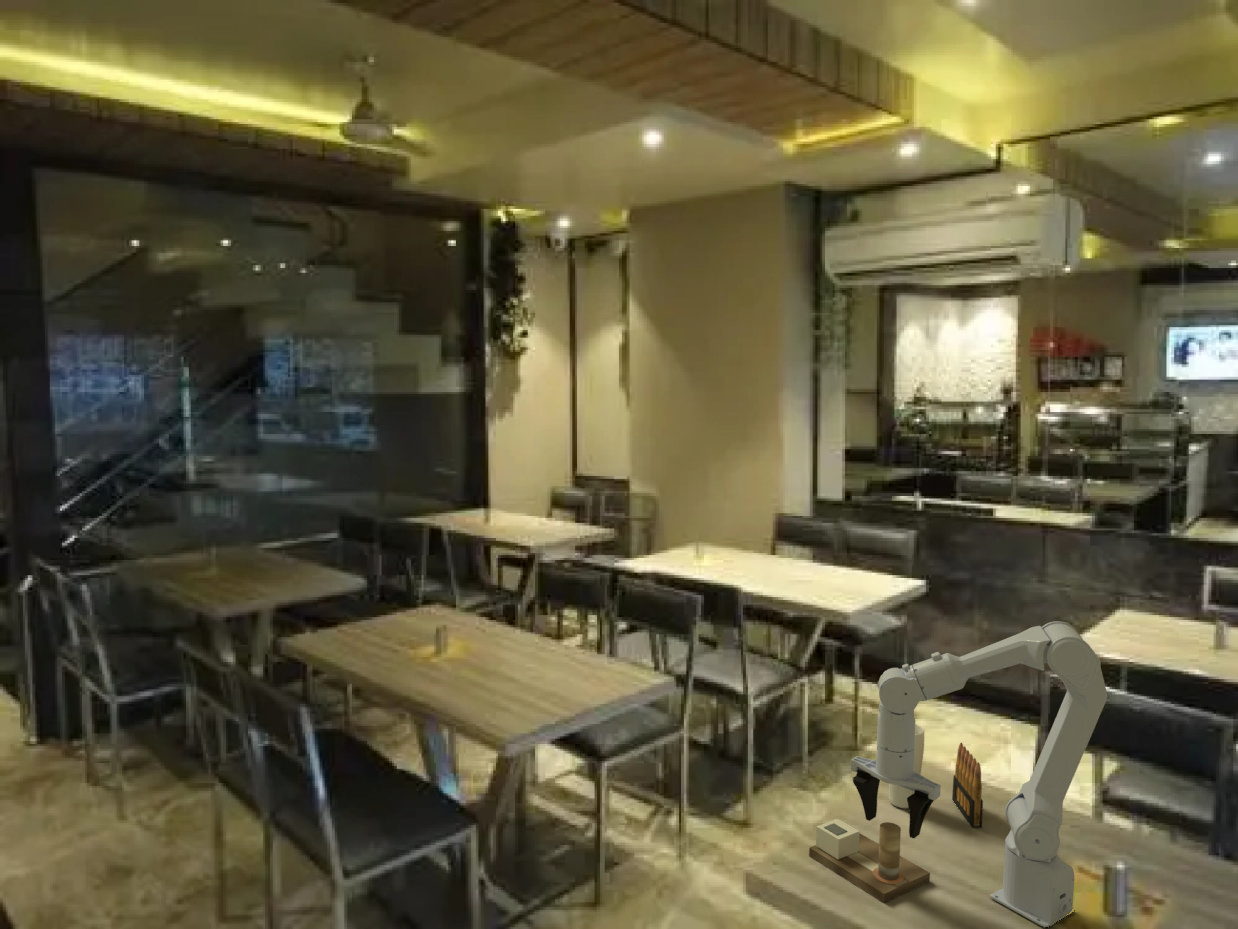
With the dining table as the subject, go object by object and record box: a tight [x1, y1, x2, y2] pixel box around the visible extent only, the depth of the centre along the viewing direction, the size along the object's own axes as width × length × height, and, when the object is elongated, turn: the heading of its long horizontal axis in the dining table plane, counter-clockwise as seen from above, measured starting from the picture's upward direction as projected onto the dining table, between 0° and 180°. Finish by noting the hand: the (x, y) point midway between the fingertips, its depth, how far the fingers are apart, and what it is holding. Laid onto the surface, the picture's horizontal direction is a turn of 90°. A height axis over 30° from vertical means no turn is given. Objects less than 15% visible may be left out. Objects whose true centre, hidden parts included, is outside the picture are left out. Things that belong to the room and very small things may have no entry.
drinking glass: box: [888, 723, 925, 810], centre depth 169 cm, size 7×7×15 cm
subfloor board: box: [808, 832, 931, 904], centre depth 147 cm, size 16×11×2 cm
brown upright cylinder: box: [878, 821, 902, 881], centre depth 141 cm, size 3×3×8 cm
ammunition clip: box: [951, 741, 984, 829], centre depth 165 cm, size 11×2×12 cm, turn 178°
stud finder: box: [815, 818, 860, 859], centre depth 149 cm, size 5×5×4 cm
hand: (892, 826), depth 142 cm, fingers open, 7 cm apart
